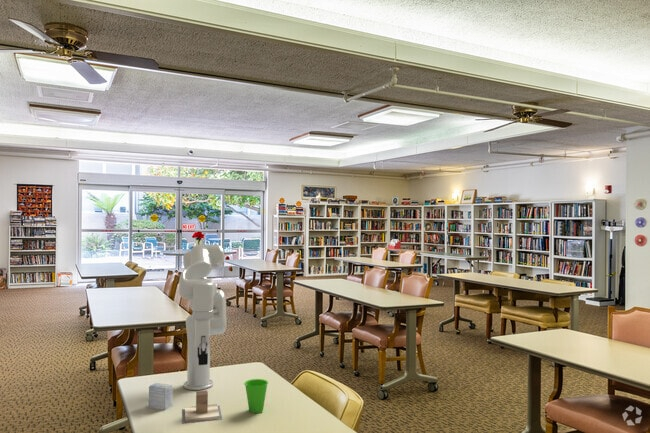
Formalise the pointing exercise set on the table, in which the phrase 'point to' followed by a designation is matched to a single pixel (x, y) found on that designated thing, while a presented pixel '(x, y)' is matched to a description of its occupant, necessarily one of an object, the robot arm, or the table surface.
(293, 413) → the table surface
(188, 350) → the robot arm
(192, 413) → the lid
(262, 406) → the cup
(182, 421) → the mat
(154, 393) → the medicine box
